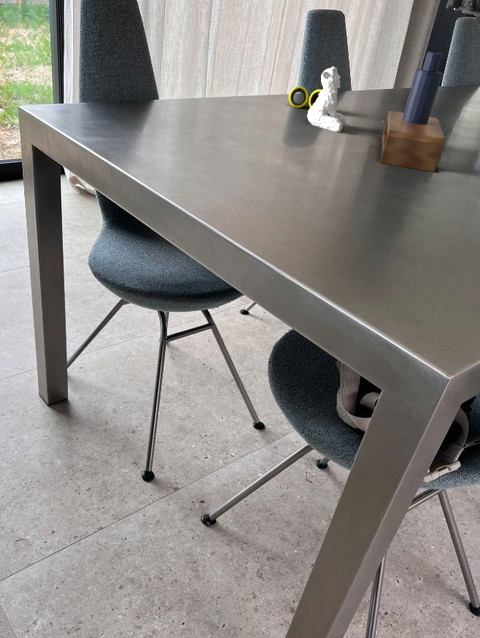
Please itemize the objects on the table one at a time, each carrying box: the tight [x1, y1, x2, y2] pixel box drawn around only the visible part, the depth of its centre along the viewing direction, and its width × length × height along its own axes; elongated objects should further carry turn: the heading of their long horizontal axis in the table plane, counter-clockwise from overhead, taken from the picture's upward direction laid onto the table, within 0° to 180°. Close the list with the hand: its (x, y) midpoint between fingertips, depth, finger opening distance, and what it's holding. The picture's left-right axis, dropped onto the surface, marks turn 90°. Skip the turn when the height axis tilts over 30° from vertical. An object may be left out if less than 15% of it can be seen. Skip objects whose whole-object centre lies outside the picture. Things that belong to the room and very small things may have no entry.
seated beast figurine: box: [306, 66, 347, 133], centre depth 126 cm, size 10×9×12 cm
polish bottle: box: [402, 51, 444, 124], centre depth 109 cm, size 5×5×12 cm
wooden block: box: [379, 110, 446, 173], centre depth 113 cm, size 10×20×6 cm, turn 164°
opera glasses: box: [288, 85, 323, 109], centre depth 143 cm, size 10×5×5 cm, turn 69°
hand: (473, 4), depth 108 cm, fingers open, 8 cm apart
